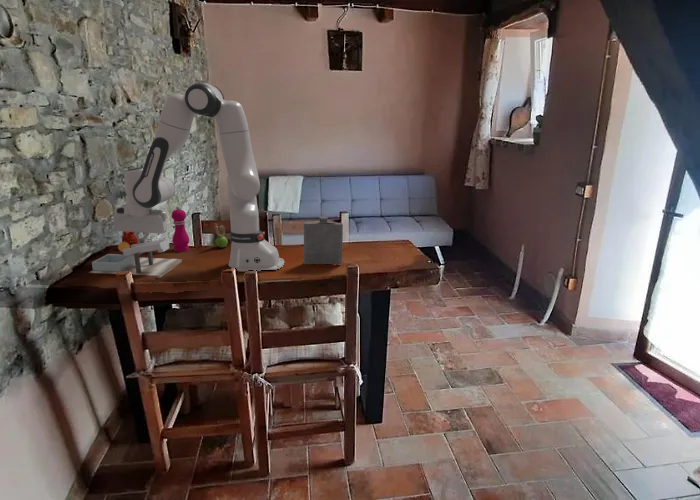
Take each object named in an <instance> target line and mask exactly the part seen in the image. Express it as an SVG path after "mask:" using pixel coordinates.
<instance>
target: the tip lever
mask: <svg viewBox="0 0 700 500" xmlns="http://www.w3.org/2000/svg"><path fill="white" fill-rule="evenodd" d="M169 249H170V241H169V238H163V239H157V240H153V239H151V240H147V242H145V243H139V244H133V245H131V248H127V249H122V251H123V252H122V255H124V256H126V255H134V254H135V253H139V256H141V255H142V254H144V253H148V252H149V251H152V252H154V251H157V252H158V253H164V252H165V251H167V250H169Z"/></svg>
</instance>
